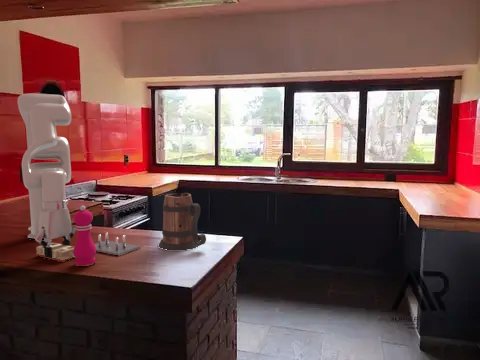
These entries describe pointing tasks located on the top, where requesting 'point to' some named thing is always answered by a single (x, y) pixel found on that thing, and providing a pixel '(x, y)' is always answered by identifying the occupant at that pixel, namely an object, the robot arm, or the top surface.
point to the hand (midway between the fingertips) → (57, 254)
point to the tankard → (180, 223)
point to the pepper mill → (84, 238)
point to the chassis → (114, 246)
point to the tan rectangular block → (58, 251)
